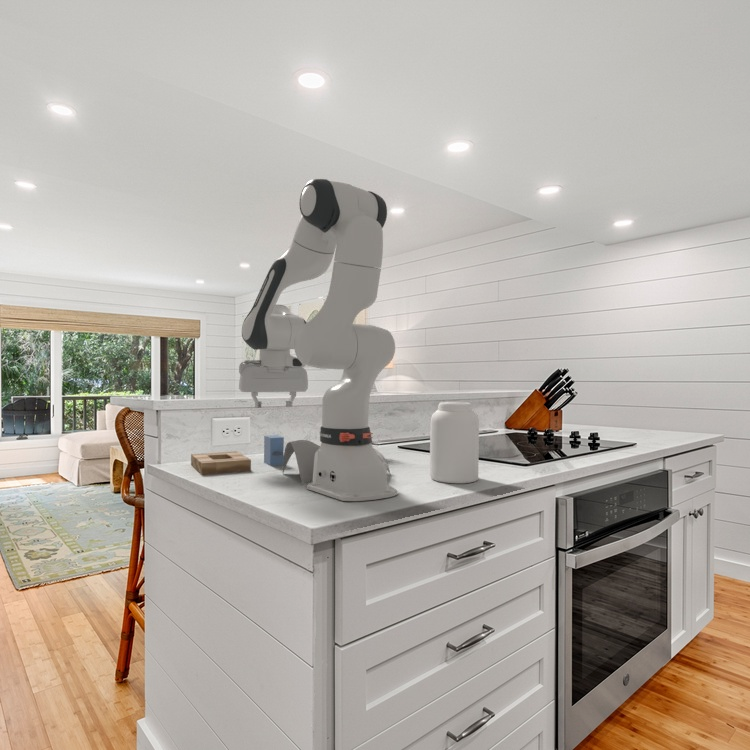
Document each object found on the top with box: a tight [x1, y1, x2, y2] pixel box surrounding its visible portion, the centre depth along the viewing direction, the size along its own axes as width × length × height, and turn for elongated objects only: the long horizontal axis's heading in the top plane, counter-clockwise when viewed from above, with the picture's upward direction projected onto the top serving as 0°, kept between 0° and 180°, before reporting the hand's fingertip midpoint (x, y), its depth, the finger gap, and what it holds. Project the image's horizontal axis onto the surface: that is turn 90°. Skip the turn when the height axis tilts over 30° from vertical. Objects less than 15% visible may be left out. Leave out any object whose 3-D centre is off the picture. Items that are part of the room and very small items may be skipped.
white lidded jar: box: [429, 401, 480, 485], centre depth 133 cm, size 12×12×20 cm
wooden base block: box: [190, 450, 252, 475], centre depth 145 cm, size 16×13×3 cm
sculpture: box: [282, 439, 391, 485], centre depth 138 cm, size 25×19×10 cm
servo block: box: [263, 434, 285, 467], centre depth 152 cm, size 9×4×8 cm, turn 29°
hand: (273, 407), depth 153 cm, fingers open, 8 cm apart
